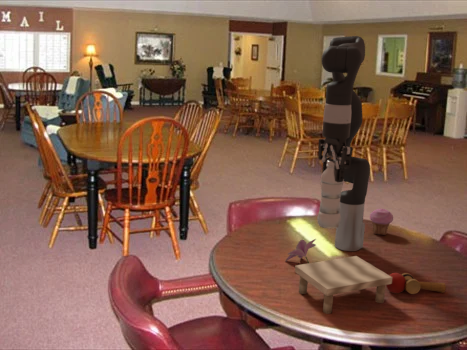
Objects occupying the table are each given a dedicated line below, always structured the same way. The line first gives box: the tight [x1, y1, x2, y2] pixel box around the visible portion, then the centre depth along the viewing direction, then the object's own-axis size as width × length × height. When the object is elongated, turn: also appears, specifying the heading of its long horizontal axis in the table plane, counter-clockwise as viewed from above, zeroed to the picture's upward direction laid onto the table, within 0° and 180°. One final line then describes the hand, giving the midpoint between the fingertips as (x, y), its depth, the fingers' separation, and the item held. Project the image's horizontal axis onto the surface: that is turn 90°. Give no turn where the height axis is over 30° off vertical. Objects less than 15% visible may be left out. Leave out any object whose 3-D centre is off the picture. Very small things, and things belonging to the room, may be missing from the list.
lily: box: [285, 238, 317, 264], centre depth 189 cm, size 12×12×10 cm
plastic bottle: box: [316, 158, 345, 230], centre depth 162 cm, size 6×7×20 cm
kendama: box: [385, 272, 447, 295], centre depth 171 cm, size 8×6×18 cm
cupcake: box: [369, 207, 394, 236], centre depth 220 cm, size 9×9×10 cm
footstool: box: [294, 255, 392, 315], centre depth 165 cm, size 22×17×8 cm
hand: (332, 178), depth 161 cm, fingers closed on plastic bottle, 6 cm apart
